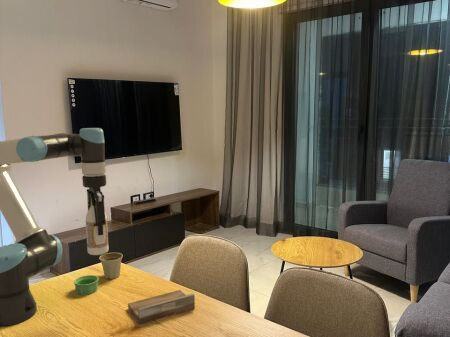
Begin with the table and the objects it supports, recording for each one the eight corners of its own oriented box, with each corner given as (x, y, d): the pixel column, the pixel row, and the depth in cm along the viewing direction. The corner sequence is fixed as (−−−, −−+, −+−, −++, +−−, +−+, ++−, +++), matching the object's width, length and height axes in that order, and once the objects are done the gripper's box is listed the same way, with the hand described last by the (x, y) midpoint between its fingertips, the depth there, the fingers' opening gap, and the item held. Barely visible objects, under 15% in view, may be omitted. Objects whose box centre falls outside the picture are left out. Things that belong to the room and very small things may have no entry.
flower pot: (111, 282, 160) (110, 262, 159) (95, 277, 165) (94, 258, 164) (128, 274, 168) (127, 255, 167) (112, 270, 173) (111, 251, 172)
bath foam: (90, 257, 131) (87, 198, 128) (85, 251, 137) (81, 194, 134) (111, 252, 135) (108, 195, 132) (105, 247, 141) (102, 192, 138)
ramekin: (70, 290, 153) (69, 280, 153) (91, 283, 160) (91, 273, 159) (81, 298, 147) (81, 286, 147) (103, 290, 154) (102, 279, 153)
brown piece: (128, 308, 139) (127, 295, 138) (180, 294, 149) (179, 282, 148) (140, 324, 128) (139, 310, 128) (195, 308, 139) (194, 295, 138)
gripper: (113, 177, 126) (116, 247, 129) (98, 169, 142) (101, 231, 146) (89, 179, 122) (93, 251, 125) (76, 171, 138) (80, 234, 142)
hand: (97, 240), depth 135 cm, fingers closed on bath foam, 7 cm apart
